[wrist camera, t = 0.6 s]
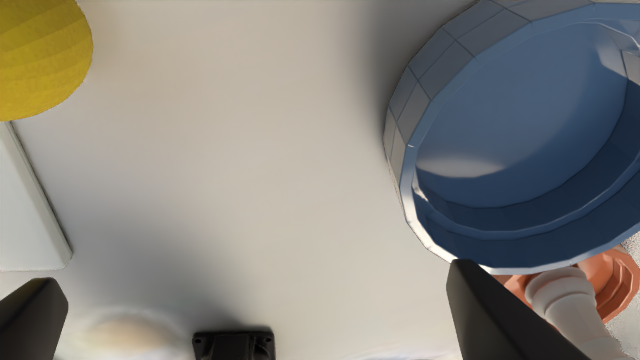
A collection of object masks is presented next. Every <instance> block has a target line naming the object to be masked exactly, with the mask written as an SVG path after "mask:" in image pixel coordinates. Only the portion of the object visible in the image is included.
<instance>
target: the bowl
mask: <svg viewBox="0 0 640 360" xmlns="http://www.w3.org/2000/svg"><path fill="white" fill-rule="evenodd" d="M383 144H384V148H385V152H386V157H387V161H388V165H389V170H390V174H391V177H392V180H393V183H394V186H395V189H396V192H397V195H398V198H399V201H400V204H401V207H402V210H403V213H404V216H405V219H406V222H407V224H408V225H409V226H410V228H411V229H412V230H413V232H414V233H415V234H416V236H417V237H418V239H419V240H420V241H421V243H422V244H423V245H424V247H425V248H427V250H429V251H431V252H432V253H434V254H436V255H437V256H439V257H440V258H442V259H444V260H445V261H447V262H449V263H450V264H451V262H452V260H453V259H463V258H469V259H472V260H473V261H475V262H476V263H477V264H478V265H479V266H481V267H482V268H483V269H484V270H485V271H487V272H488V273H489V274H490V275H529V274H534V273H539V272H543V271H548V270H553V269H557V268H562V267H567V266H570V265H573V264H576V263H578V262H581V261H583V260H585V259H588V258H590V257H593V256H595V255H597V254H600V253H602V252H605V251H607V250H609V249H612V247H615V246H617V245H618V244H620V243H621V242H623V241H625V240H626V239H628V238H629V237H631V236H632V235H634V234H635V233H637V232H638V231H640V0H481V1H480V2H478V3H477V4H475V5H474V6H472V7H470V8H469V9H467V10H466V11H464V12H463V13H461V14H460V15H458V16H457V17H455V18H453V19H452V20H450V21H449V22H447V23H446V24H444V25H443V26H442V27H440V28H439V29H438V30H437V31H436V33H435V34H434V35H433V36H432V37H431V38H430V39H429V40H428V41H427V43H426V44H425V45H424V46H423V47H422V48H421V49H420V50H419V52H418V53H417V54H416V55H415V56H414V57H413V58H412V59H411V60H410V62H409V63H408V65H407V66H406V68H405V70H404V73H403V75H402V77H401V79H400V81H399V83H398V85H397V87H396V89H395V91H394V93H393V95H392V97H391V99H390V102H389V104H388V108H387V116H386V123H385V130H384V138H383Z"/></svg>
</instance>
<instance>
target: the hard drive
mask: <svg viewBox="0 0 640 360" xmlns="http://www.w3.org/2000/svg"><path fill="white" fill-rule="evenodd" d="M72 255H73V254H72V252H71V250H70V248H69V246H68V243H67V241H66V239H65V237H64V235H63V233H62V231H61V228H60V226H59V224H58V222H57V220H56V218H55V216H54V214H53V212H52V210H51V208H50V205H49V203H48V201H47V199H46V197H45V195H44V193H43V191H42V189H41V187H40V185H39V183H38V181H37V178H36V176H35V174H34V172H33V170H32V168H31V166H30V163H29V161H28V159H27V157H26V155H25V153H24V151H23V149H22V147H21V145H20V142H19V140H18V138H17V136H16V134H15V132H14V130H13V128H12V126H11V123H10V121H3V122H0V272H1V271H44V270H59V269H63V268H65V267H66V265H67V264H68V262H69V261H70V260H71V258H72Z"/></svg>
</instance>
